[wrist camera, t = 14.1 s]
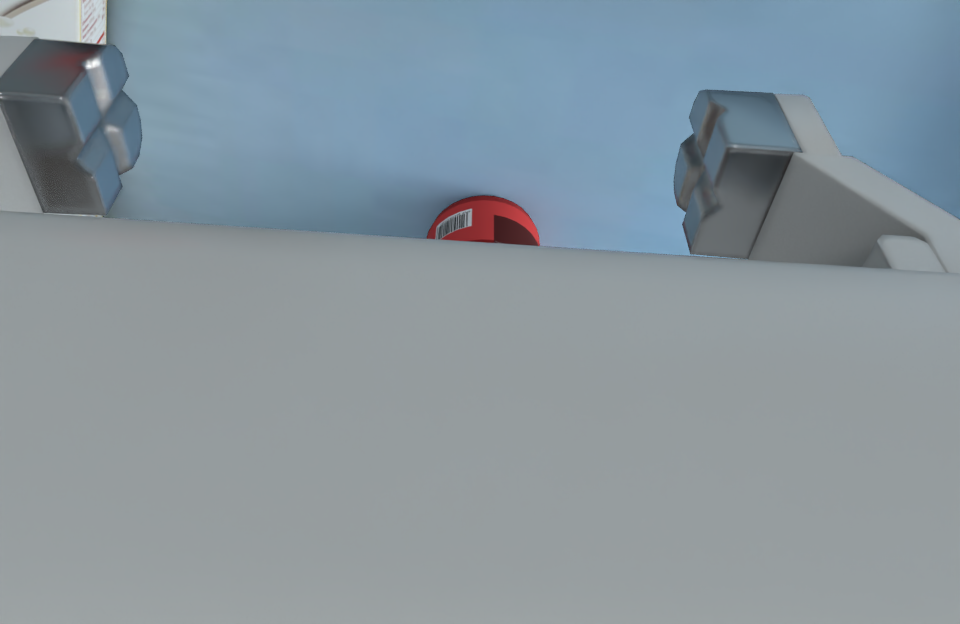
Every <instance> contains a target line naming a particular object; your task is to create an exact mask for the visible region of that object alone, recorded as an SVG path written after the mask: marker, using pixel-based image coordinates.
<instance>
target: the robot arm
mask: <svg viewBox="0 0 960 624" xmlns="http://www.w3.org/2000/svg"><path fill="white" fill-rule="evenodd" d="M128 77H129V74H128V71H127V68H126V64H125V61H124V58H123V54H122V53H121V52H120V51H119V50H118V48H117V47H116V46H115V45H108V44H97V43H86V42H76V41H65V40H54V39H44V38H43V39H40V38H38V37H25V36H0V624H960V219H958V218H956V217H955V216H953V215H951V214H950V213H948V212H946V211H945V210H943V209H941V208H939V207H938V206H936V205H934V204H933V203H931V202H929V201H928V200H926V199H924V198H922V197H921V196H919V195H917V194H916V193H914V192H912V191H911V190H909V189H907V188H905V187H904V186H902V185H900V184H899V183H897V182H895V181H893V180H892V179H890V178H888V177H887V176H885V175H883V174H882V173H880V172H878V171H876V170H875V169H873V168H871V167H870V166H868V165H866V164H865V163H863V162H861V161H859V160H858V159H856V158H854V157H852V156H842V155H841V153H840V151H839V149H838V148H837V146H836V144H835V142H834V140H833V139H832V137H831V135H830V133H829V131H828V130H827V128H826V126H825V124H824V123H823V121H822V119H821V117H820V115H819V114H818V112H817V110H816V108H815V106H814V105H813V103H812V101H811V99H810V98H809V97H807V96H805V95H800V94H773V93H764V92H744V91H724V90H702V91H699V93H698V95H697V97H696V99H695V101H694V103H693V106H692V109H691V113H690V116H689V119H690V122H691V125H692V128H693V132H694V133H693V134H692V135H691V136H690V137H688V138H687V139H686V140H685V141H684V142H683V143H682V144H681V146H680V149H679V153H678V157H677V161H676V165H675V174H674V194H675V199H676V203H677V206H679V207H680V208H681V209H682V210H684V211H685V212H686V215H685V218H684V221H683V224H682V225H683V229H684V232H685V236H686V240H687V243H688V247H689V250H690V254H696V255H707V256H718V257H729V258H715V257H700V256H684V255H669V254H654V253H638V252H623V251H608V250H592V249H577V248H562V247H546V246H531V245H515V244H500V243H485V242H469V241H454V240H439V239H424V238H409V237H393V236H378V235H363V234H348V233H333V232H318V231H302V230H287V229H272V228H257V227H242V226H226V225H211V224H196V223H181V222H166V221H151V220H135V219H120V218H105V217H90V216H75V215H60V214H78V215H103V216H106V215H107V213H108V212H109V210H110V208H111V206H112V205H113V203H114V201H115V199H116V198H117V196H118V194H119V192H120V190H121V189H122V183H121V180H120V177H119V175H121V174H123V173H125V172H127V171H129V170H130V169H132V168H133V167H134V165H135V163H136V161H137V159H138V157H139V155H140V148H141V142H142V129H141V120H140V116H139V112H138V108H137V105H136V104H135V103H134V102H133V101H132V100H131V99H130V98H129V96H128V95H127V94H126V93H125V92H124V91H123V90H122V88H123V86H124V85H125V83H126V81H127V79H128ZM44 213H53V214H44ZM730 258H740V259H730ZM746 259H748V260H746Z"/></svg>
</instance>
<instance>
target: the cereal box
mask: <svg viewBox="0 0 960 624" xmlns="http://www.w3.org/2000/svg"><path fill="white" fill-rule="evenodd" d="M106 20H107V0H0V36H25V37H38V38H40V39H43V38H44V39H54V40H65V41H76V42H86V43H97V44H106ZM44 214H53V213H44ZM60 215H75V216H90V217H102V215H78V214H60Z"/></svg>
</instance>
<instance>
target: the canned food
mask: <svg viewBox="0 0 960 624" xmlns="http://www.w3.org/2000/svg"><path fill="white" fill-rule="evenodd" d="M426 239H439V240H454V241H469V242H485V243H500V244H515V245H531V246H540V244H539V235H538V232H537V229H536V227H535V225H534V223H533V222H532V220H531V218H530V217H529V215H528V214H527V213H526V212H525V211H524V210H523V209H522V208H521V207H520V206H518V205H517V204H515V203H513V202H511V201H509V200H506V199H504V198H499V197H495V196H474V197H469V198H466V199H462V200H460V201H457V202H455V203H453V204H451V205H450V206H449V207H447V208H446V209H444V210H443V211H442V212H441V213H440V214H439V216H438V217H437V218H436V220H435V222H434V223H433V225H432V227H431V228H430V230H429V232H428V235H427V238H426Z"/></svg>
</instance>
